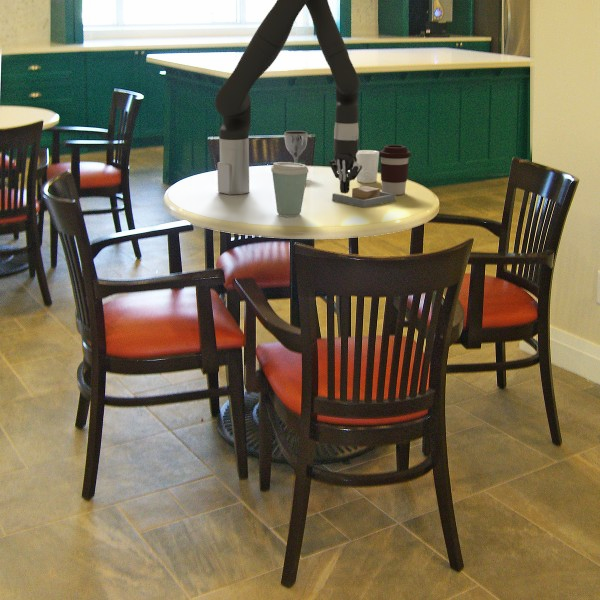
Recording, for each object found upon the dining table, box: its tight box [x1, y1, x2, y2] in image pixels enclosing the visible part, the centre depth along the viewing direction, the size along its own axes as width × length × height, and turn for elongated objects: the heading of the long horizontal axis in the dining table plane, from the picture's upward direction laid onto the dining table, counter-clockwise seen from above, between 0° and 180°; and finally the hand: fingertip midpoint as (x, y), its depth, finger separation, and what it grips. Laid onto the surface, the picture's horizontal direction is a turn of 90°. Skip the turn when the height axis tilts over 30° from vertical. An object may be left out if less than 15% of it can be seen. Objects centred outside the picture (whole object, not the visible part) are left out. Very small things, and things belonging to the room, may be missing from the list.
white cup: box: [356, 149, 380, 184], centre depth 301 cm, size 8×8×10 cm
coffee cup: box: [378, 144, 412, 196], centre depth 281 cm, size 10×10×15 cm
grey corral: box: [331, 190, 397, 208], centre depth 273 cm, size 14×14×2 cm
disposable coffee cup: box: [270, 161, 309, 218], centre depth 252 cm, size 11×11×15 cm
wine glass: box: [284, 130, 308, 163], centre depth 310 cm, size 8×8×15 cm
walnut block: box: [351, 185, 381, 200], centre depth 272 cm, size 6×6×4 cm
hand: (344, 192), depth 278 cm, fingers closed
